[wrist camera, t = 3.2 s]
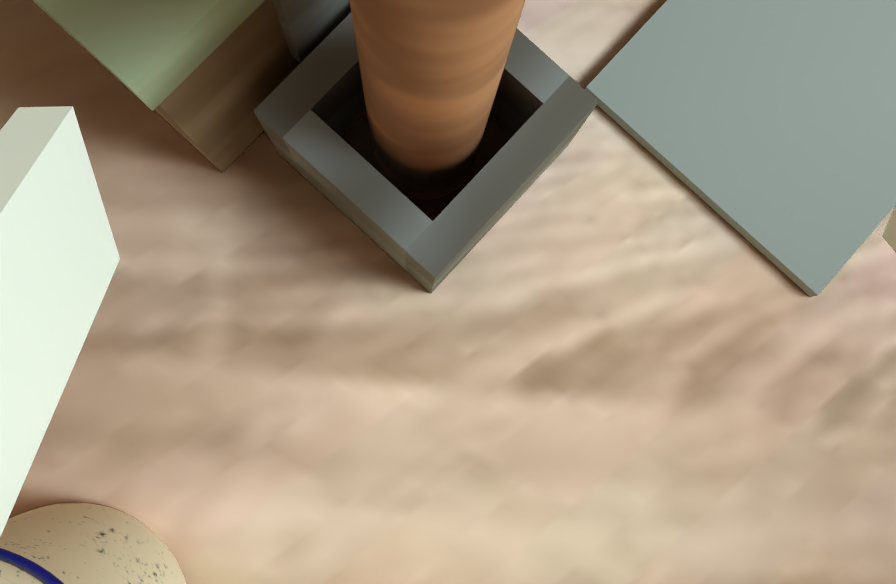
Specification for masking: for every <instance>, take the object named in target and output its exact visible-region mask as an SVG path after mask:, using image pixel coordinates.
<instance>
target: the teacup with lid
mask: <svg viewBox="0 0 896 584" xmlns="http://www.w3.org/2000/svg"><path fill="white" fill-rule="evenodd" d="M0 584H186V581H185V578H184V576H183V573H182V571H181V569H180V567H179V565H178V563H177V561H176V559H175V557H174V556H173V554H172V553H171V551H170V550H169V549H168V547H167V546H166V545H165V544H164V542H163V541H162V540H161V539H160V538H159V537H158V536H157V535H156V534H155V533H154V532H153V531H152V530H150V529H149V528H148V527H147V526H145V525H144V524H143V523H141V522H140V521H138V520H137V519H135V518H133V517H131V516H129V515H127V514H125V513H123V512H121V511H118V510H116V509H113V508H110V507H106V506H102V505H97V504H90V503H61V504H53V505H48V506H44V507H40V508H37V509H34V510H31V511H28V512H25V513H22V514H20V515H17V516H14V517H11V518H9V519H8V520H7V523H6V525H5V527H4V530H3V532H2V534H1V537H0Z"/></svg>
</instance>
